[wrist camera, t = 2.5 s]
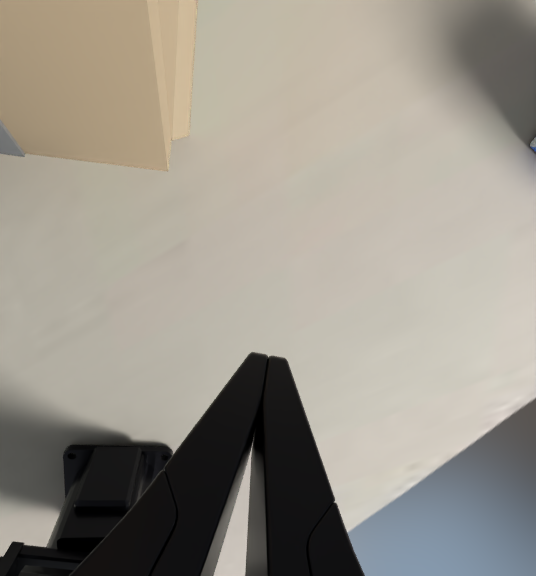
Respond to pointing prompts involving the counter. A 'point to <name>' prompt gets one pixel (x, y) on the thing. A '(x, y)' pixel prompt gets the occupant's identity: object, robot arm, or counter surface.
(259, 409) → the robot arm
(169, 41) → the carton
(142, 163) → the carton lid
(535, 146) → the medicine box
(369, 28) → the counter surface
